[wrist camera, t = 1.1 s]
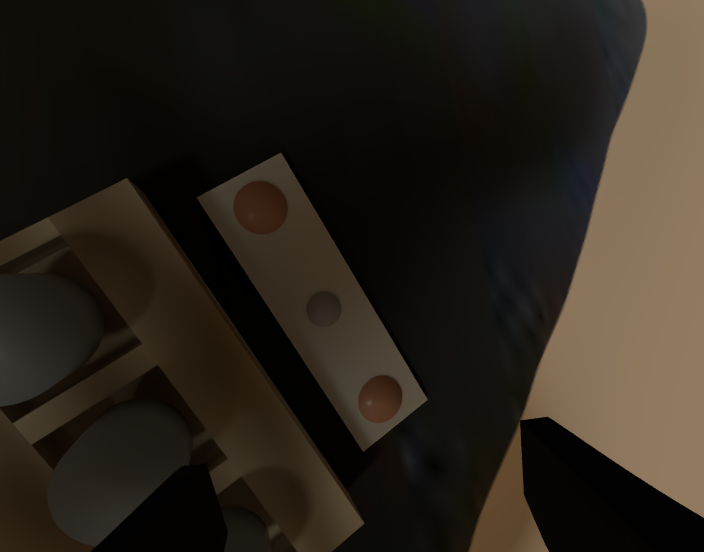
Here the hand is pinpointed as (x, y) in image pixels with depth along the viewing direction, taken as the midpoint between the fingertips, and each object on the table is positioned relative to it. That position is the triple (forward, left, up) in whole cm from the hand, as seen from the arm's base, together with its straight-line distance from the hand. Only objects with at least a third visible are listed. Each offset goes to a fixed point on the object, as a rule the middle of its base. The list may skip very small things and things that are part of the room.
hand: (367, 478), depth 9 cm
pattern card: (+3, +1, -13) cm, 13 cm away
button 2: (-8, +1, -11) cm, 13 cm away
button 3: (-8, +7, -11) cm, 15 cm away
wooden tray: (-8, +1, -13) cm, 15 cm away
